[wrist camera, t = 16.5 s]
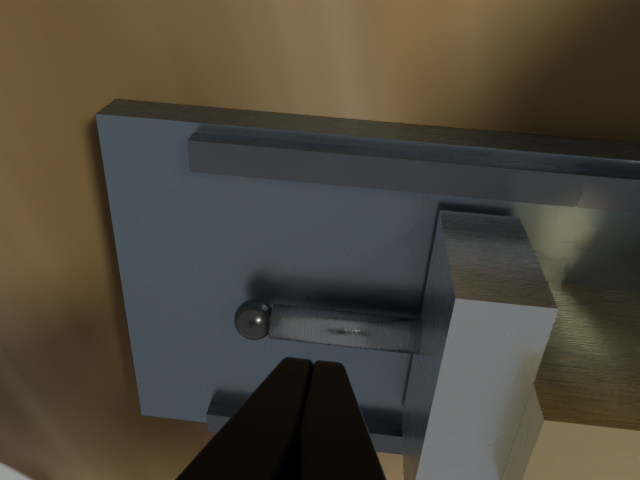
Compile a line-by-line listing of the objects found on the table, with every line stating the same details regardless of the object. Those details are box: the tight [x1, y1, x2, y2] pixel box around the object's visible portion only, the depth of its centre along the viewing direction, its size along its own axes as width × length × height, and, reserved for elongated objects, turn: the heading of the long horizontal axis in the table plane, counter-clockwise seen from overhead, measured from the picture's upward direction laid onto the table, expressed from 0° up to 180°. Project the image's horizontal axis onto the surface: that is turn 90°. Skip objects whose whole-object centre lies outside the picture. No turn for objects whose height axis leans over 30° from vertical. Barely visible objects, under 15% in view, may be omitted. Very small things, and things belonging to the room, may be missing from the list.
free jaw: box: [234, 210, 558, 480], centre depth 18 cm, size 9×9×5 cm
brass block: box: [500, 282, 640, 480], centre depth 17 cm, size 5×4×6 cm
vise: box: [96, 99, 640, 455], centre depth 18 cm, size 22×13×6 cm, turn 87°
